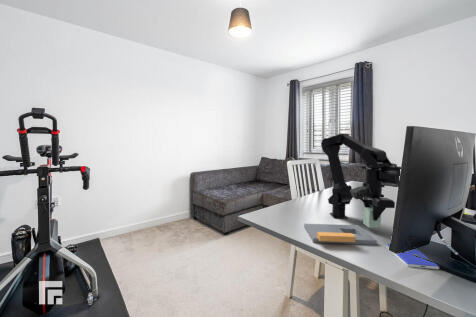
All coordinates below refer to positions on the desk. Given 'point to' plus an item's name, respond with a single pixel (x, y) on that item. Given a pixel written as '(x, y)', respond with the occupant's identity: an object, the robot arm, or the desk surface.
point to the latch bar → (335, 237)
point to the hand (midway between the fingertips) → (371, 218)
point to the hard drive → (415, 259)
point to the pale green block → (370, 218)
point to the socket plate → (360, 238)
